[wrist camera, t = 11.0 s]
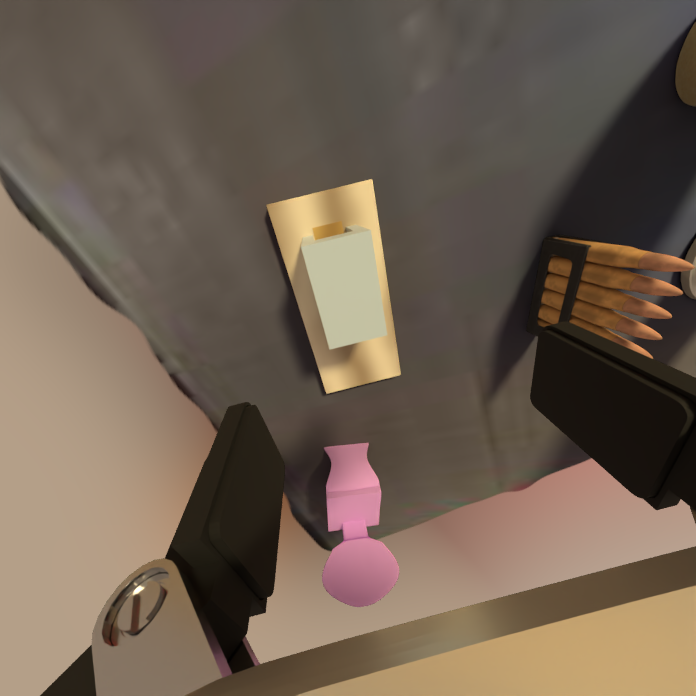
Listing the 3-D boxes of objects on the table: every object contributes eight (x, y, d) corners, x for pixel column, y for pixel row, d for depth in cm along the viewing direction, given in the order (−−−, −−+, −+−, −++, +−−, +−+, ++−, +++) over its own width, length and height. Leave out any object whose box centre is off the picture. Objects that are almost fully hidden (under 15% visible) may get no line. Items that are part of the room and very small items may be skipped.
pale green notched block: (355, 224, 24) (370, 229, 18) (370, 308, 28) (387, 335, 22) (302, 237, 24) (300, 247, 18) (325, 320, 28) (329, 349, 22)
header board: (369, 180, 24) (384, 173, 19) (397, 369, 33) (412, 395, 28) (268, 205, 23) (258, 204, 19) (325, 387, 33) (328, 417, 28)
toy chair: (375, 439, 38) (412, 562, 25) (373, 481, 42) (402, 606, 29) (316, 445, 37) (320, 576, 24) (319, 487, 41) (324, 620, 28)
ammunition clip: (543, 237, 28) (687, 255, 17) (560, 234, 28) (713, 250, 17) (526, 331, 33) (628, 389, 22) (540, 328, 33) (649, 385, 22)
